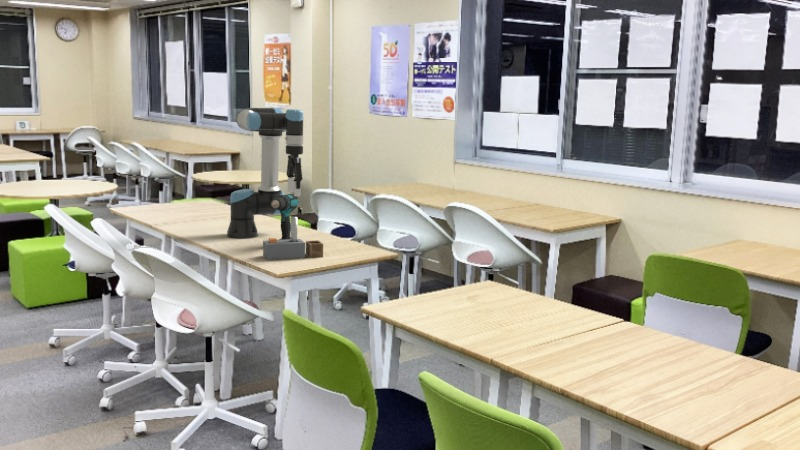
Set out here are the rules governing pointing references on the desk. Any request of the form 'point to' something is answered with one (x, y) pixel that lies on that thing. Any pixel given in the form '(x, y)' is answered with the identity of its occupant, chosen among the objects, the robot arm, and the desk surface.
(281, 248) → the socket block
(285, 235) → the power drill
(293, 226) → the cylinder
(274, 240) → the plunger
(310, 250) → the hollow brown square tube
